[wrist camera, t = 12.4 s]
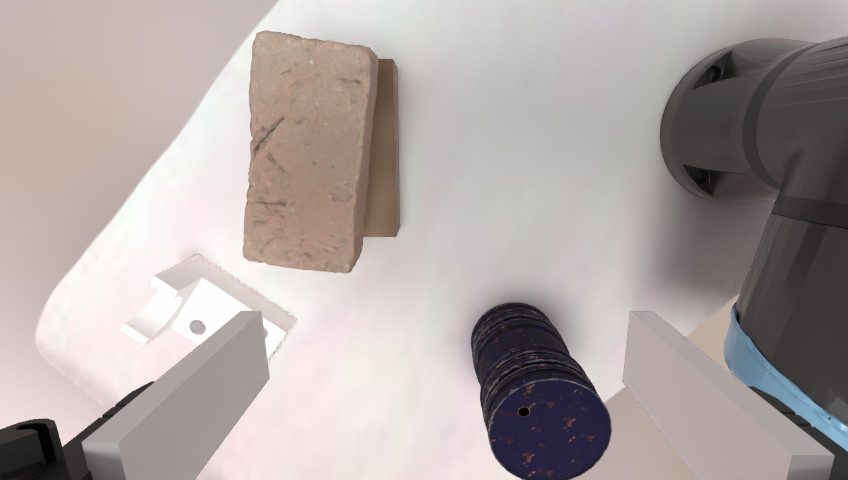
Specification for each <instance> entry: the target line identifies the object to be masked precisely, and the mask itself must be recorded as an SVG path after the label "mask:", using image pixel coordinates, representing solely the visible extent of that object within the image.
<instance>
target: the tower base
mask: <svg viewBox="0 0 848 480" xmlns="http://www.w3.org/2000/svg"><path fill="white" fill-rule="evenodd" d="M368 172H369V176H368V188H367V198H366V212H365V214H364V217H363V226H364V232H363V237H396V236H397V233H398V231H399V228H400V209H399V147H398V85H397V67H396V65H395V63H394V61H393V59H378V76H377V96H376V101H375V106H374V113H373V123H372V135H371V146H370V159H369V170H368Z"/></svg>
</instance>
